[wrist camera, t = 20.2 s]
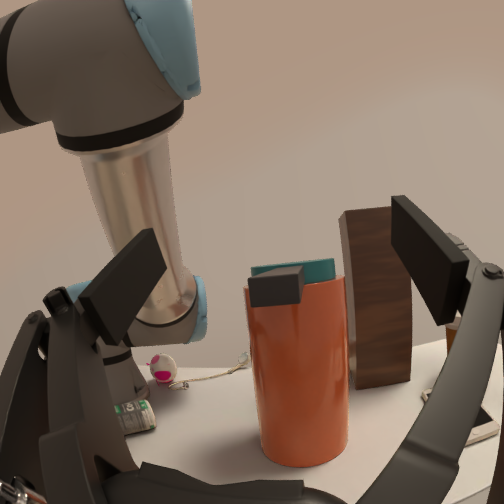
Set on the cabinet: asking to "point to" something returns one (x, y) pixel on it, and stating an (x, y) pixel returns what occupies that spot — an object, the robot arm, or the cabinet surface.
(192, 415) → the cabinet surface
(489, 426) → the smartphone
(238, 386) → the cabinet surface
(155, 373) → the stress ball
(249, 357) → the shower head
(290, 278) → the disc paddle
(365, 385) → the pillar
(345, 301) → the pedestal
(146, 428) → the pill bottle
